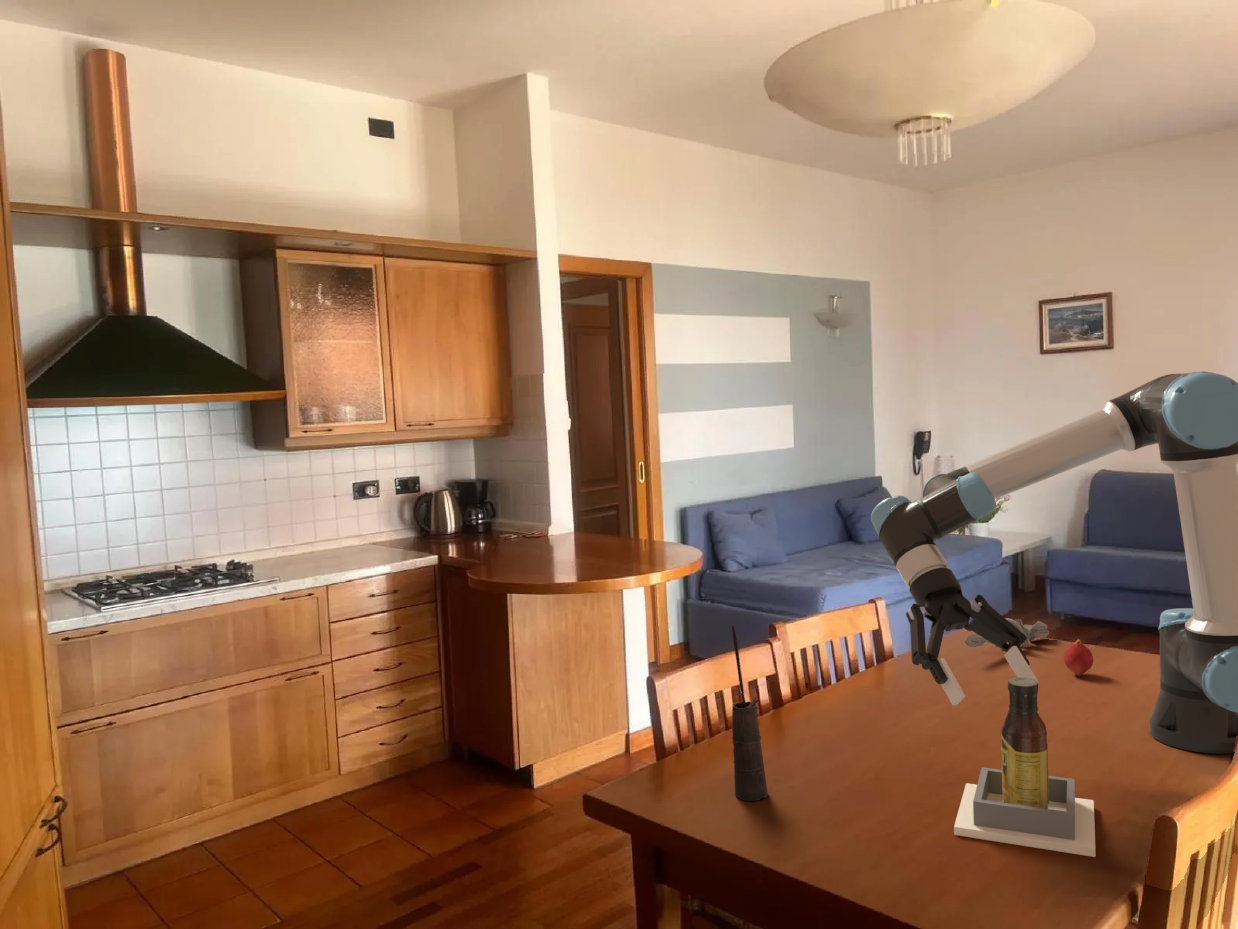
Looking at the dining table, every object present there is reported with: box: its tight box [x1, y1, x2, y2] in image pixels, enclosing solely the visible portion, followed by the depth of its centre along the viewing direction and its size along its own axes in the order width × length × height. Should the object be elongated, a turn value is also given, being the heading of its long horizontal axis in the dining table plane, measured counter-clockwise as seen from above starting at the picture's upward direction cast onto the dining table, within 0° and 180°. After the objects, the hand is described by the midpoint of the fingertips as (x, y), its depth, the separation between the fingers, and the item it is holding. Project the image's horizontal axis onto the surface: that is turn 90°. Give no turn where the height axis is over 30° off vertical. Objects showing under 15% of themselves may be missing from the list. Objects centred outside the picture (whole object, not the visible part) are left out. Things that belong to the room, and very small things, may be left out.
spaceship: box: [964, 618, 1050, 648], centre depth 221 cm, size 8×35×8 cm
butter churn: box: [731, 624, 769, 802], centre depth 149 cm, size 9×10×28 cm
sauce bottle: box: [1000, 676, 1049, 809], centre depth 135 cm, size 7×6×20 cm
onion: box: [1063, 639, 1094, 677], centre depth 200 cm, size 6×6×8 cm
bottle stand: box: [953, 766, 1096, 858], centre depth 135 cm, size 18×16×5 cm
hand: (996, 694), depth 138 cm, fingers open, 13 cm apart
